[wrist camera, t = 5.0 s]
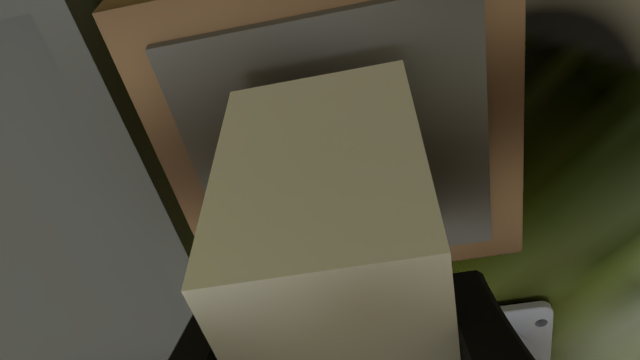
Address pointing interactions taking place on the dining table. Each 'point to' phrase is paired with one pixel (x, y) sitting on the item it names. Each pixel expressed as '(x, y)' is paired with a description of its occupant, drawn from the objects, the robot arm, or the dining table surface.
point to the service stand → (329, 57)
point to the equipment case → (81, 200)
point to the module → (323, 227)
